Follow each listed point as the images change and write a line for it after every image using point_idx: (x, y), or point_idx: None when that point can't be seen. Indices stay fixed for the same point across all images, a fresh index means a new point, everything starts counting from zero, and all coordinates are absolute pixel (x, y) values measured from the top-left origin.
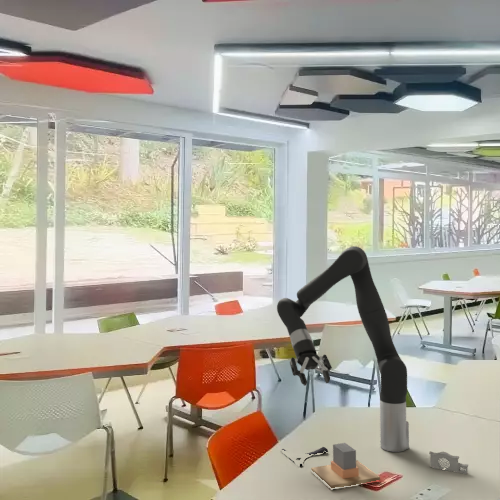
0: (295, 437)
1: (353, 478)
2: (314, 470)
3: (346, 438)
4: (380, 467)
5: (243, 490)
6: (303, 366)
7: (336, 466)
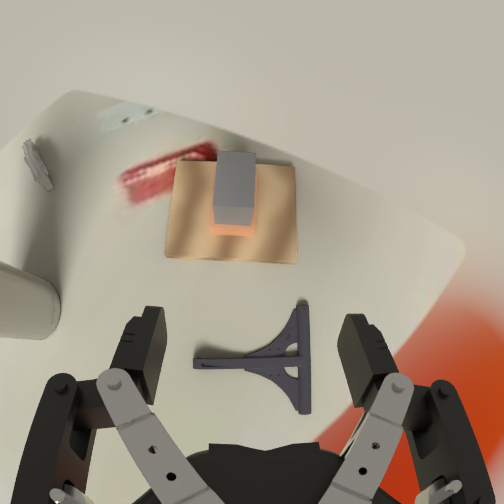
0: None
1: None
2: (296, 243)
3: None
4: (129, 224)
5: (439, 244)
6: (390, 422)
7: (256, 201)
